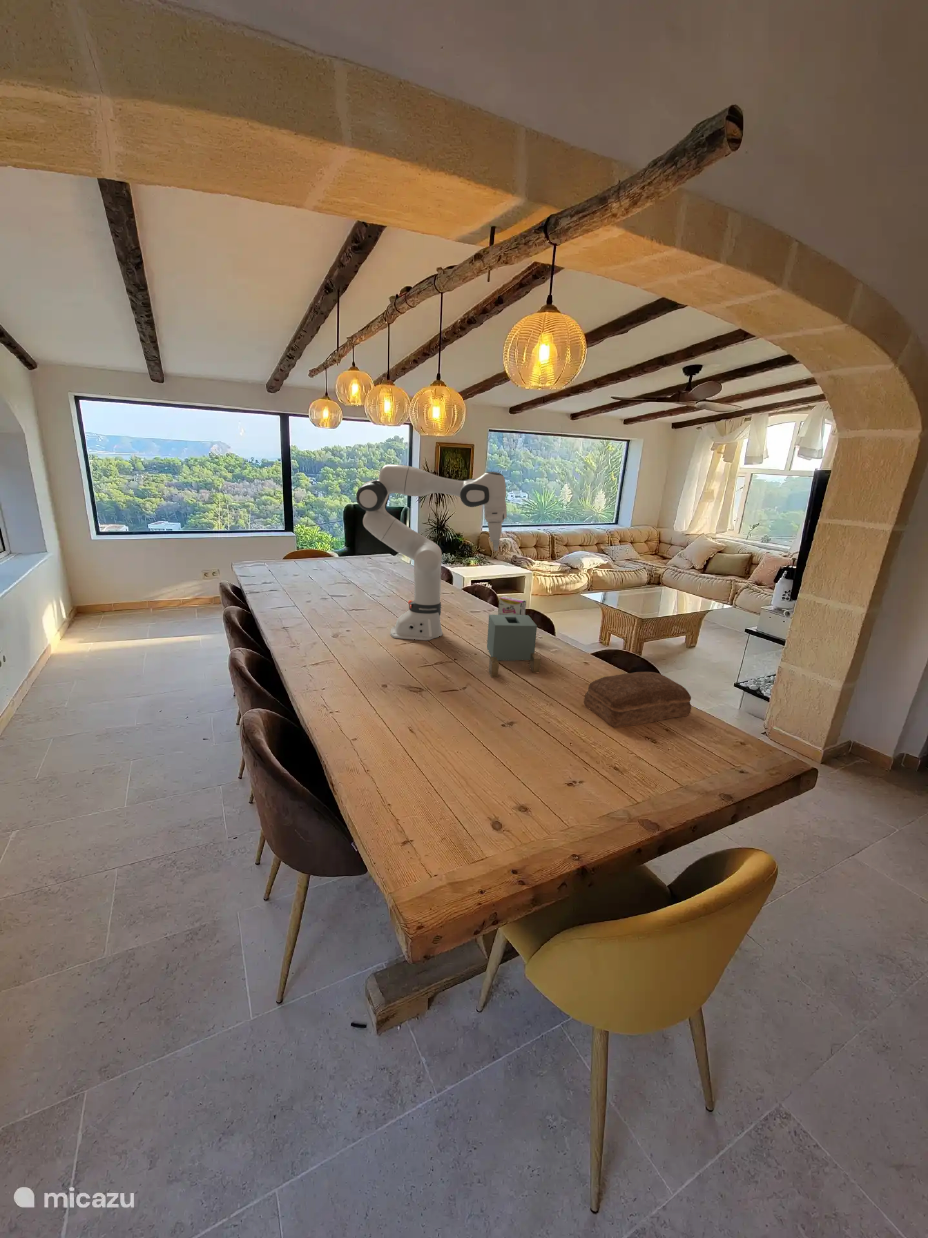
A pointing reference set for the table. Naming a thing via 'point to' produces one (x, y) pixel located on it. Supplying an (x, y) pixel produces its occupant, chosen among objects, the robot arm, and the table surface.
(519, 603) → the candy bar box
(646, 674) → the bread
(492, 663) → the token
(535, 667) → the token
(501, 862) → the table surface
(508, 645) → the coin box
